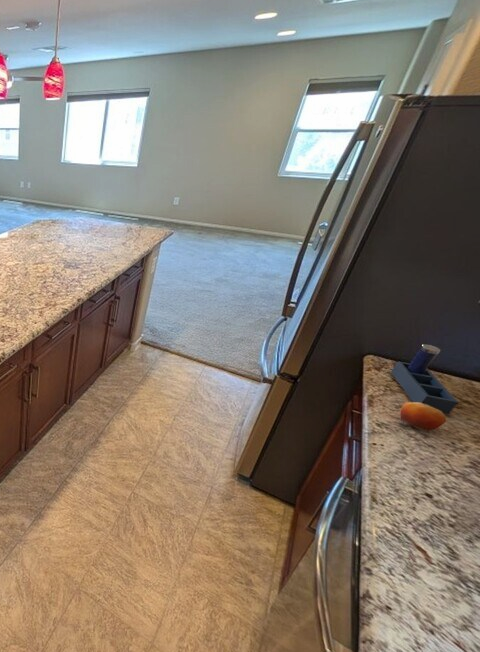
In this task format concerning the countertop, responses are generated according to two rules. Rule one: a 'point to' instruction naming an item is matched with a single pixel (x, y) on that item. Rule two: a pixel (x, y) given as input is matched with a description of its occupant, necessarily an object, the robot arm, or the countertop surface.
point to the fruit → (422, 416)
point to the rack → (424, 388)
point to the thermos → (423, 359)
